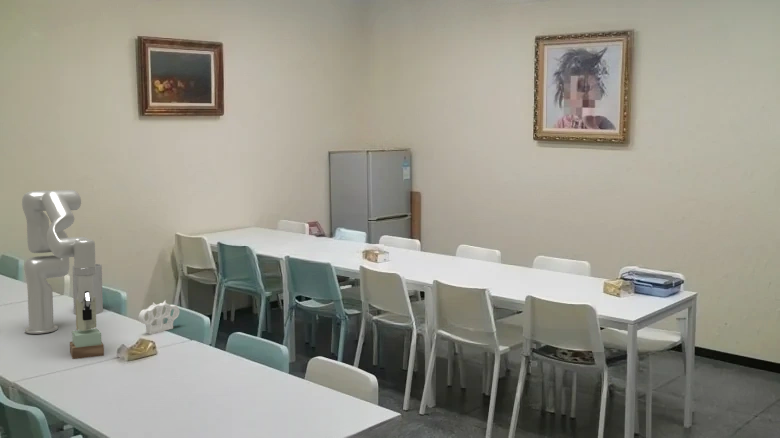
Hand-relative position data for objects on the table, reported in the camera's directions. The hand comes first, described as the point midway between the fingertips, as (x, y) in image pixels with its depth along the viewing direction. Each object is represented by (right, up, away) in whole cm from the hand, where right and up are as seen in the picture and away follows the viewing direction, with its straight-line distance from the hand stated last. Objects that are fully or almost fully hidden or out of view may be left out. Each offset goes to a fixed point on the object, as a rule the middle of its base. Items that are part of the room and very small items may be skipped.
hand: (86, 317), depth 288 cm
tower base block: (0, -14, +1) cm, 15 cm away
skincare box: (0, -4, 0) cm, 5 cm away
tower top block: (0, -10, +1) cm, 10 cm away
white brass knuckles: (+18, -12, +33) cm, 39 cm away
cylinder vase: (-24, -9, +63) cm, 68 cm away
